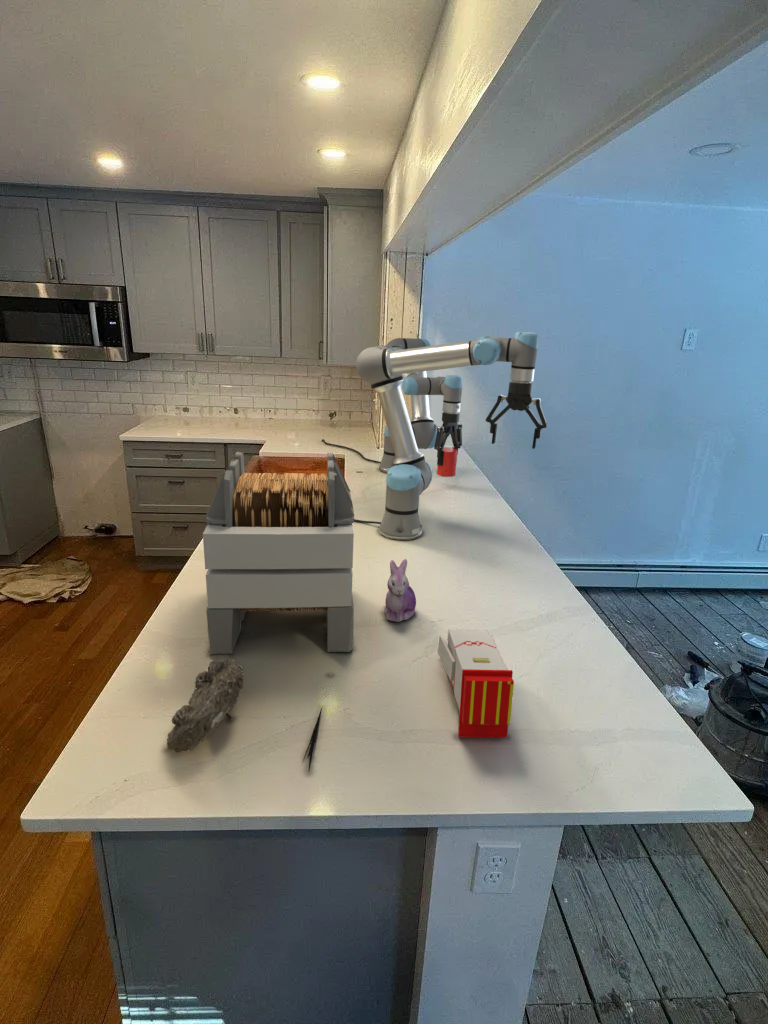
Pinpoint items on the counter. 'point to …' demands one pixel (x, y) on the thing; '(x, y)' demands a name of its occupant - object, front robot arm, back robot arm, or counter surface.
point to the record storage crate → (279, 550)
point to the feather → (313, 740)
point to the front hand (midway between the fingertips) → (513, 445)
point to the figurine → (399, 594)
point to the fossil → (206, 705)
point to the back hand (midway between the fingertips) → (446, 463)
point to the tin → (448, 463)
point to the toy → (478, 682)
